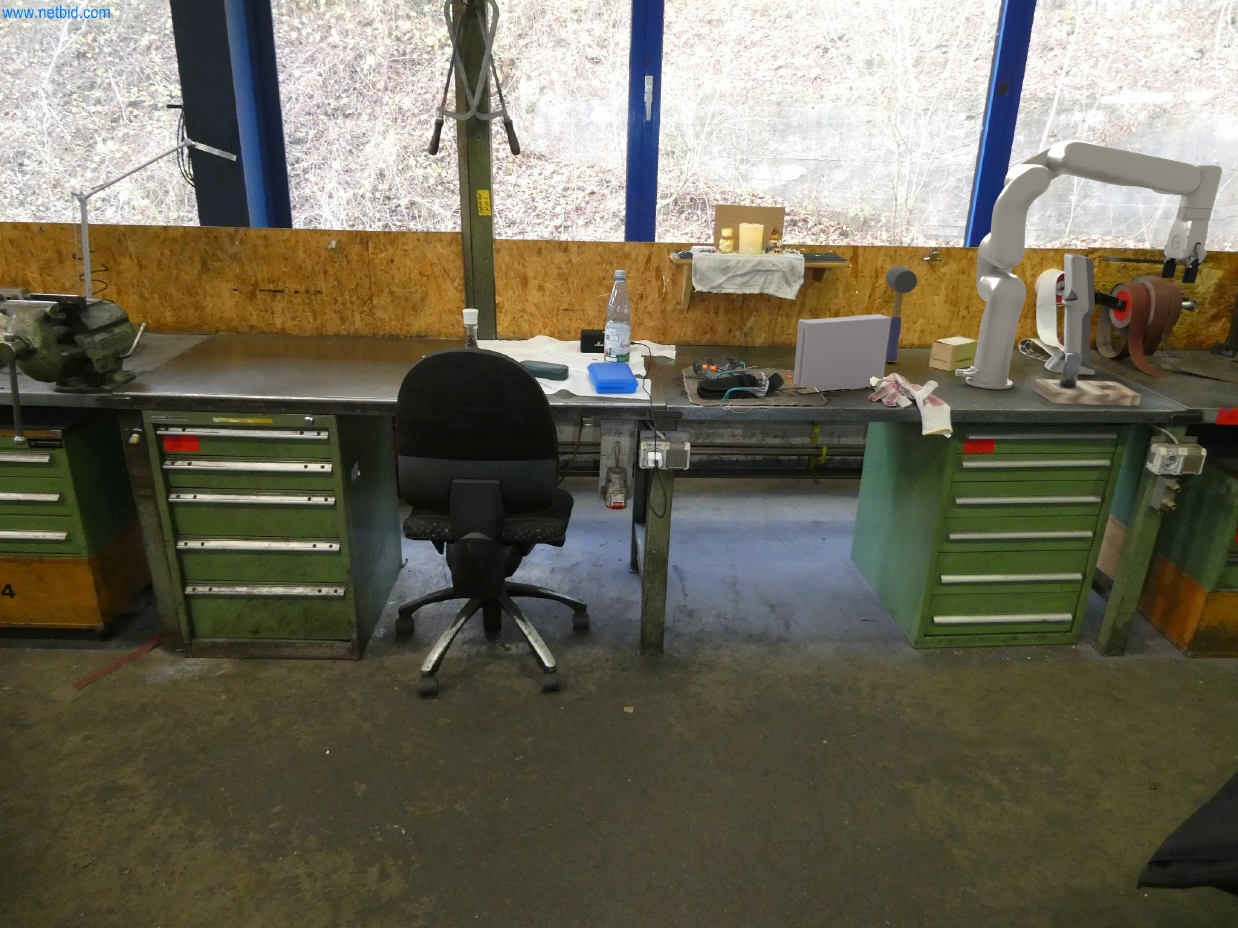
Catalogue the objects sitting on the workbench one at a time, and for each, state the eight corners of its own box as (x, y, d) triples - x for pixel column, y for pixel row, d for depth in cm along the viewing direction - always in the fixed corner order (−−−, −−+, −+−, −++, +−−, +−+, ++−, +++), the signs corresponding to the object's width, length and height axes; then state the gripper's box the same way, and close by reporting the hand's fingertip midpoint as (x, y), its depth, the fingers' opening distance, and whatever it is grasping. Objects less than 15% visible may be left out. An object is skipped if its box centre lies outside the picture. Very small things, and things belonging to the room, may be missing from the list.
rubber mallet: (873, 357, 265) (885, 264, 254) (897, 358, 265) (909, 264, 254) (883, 366, 254) (895, 269, 243) (907, 367, 253) (920, 270, 242)
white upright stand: (1040, 364, 258) (1062, 252, 246) (1084, 366, 256) (1108, 253, 243) (1050, 373, 248) (1074, 256, 235) (1096, 375, 245) (1122, 258, 232)
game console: (789, 389, 228) (795, 319, 220) (869, 381, 237) (878, 314, 230) (800, 395, 222) (807, 323, 215) (882, 386, 232) (891, 317, 224)
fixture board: (1052, 403, 217) (1054, 392, 216) (1033, 389, 230) (1035, 378, 229) (1138, 406, 215) (1141, 395, 214) (1113, 392, 228) (1116, 381, 227)
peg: (1062, 387, 220) (1069, 355, 217) (1056, 383, 224) (1063, 352, 221) (1078, 388, 220) (1085, 355, 217) (1071, 384, 224) (1078, 352, 220)
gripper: (1160, 212, 222) (1145, 275, 228) (1198, 217, 205) (1181, 285, 212) (1188, 213, 221) (1173, 276, 227) (1229, 217, 205) (1211, 285, 211)
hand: (1177, 280), depth 219 cm, fingers open, 9 cm apart
